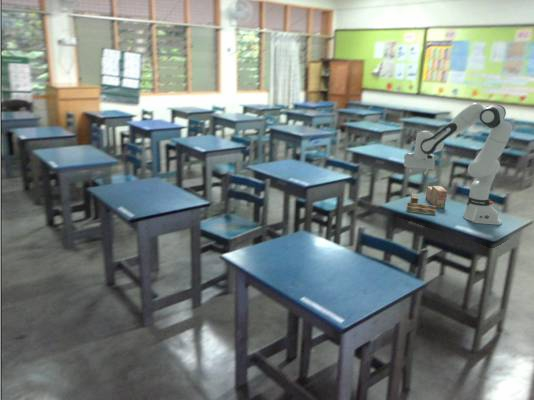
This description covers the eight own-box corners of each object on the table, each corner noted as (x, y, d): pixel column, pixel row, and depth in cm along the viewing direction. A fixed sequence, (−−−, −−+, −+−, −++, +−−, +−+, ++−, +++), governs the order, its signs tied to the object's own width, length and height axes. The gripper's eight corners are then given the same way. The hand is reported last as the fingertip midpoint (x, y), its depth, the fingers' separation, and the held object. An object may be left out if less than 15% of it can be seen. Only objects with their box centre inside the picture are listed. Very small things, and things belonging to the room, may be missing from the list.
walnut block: (410, 201, 315) (411, 193, 313) (416, 201, 314) (417, 193, 312) (411, 206, 304) (412, 198, 302) (417, 207, 303) (418, 198, 301)
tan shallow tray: (434, 210, 297) (435, 205, 296) (435, 214, 288) (435, 210, 287) (407, 206, 302) (407, 202, 301) (406, 210, 293) (407, 206, 292)
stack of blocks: (425, 198, 323) (427, 182, 319) (433, 198, 323) (436, 182, 319) (435, 207, 302) (438, 190, 299) (444, 208, 303) (447, 190, 299)
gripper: (404, 153, 298) (401, 173, 302) (436, 156, 292) (433, 177, 296) (404, 152, 304) (402, 171, 308) (436, 155, 298) (433, 174, 302)
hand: (417, 174), depth 302 cm, fingers open, 8 cm apart
